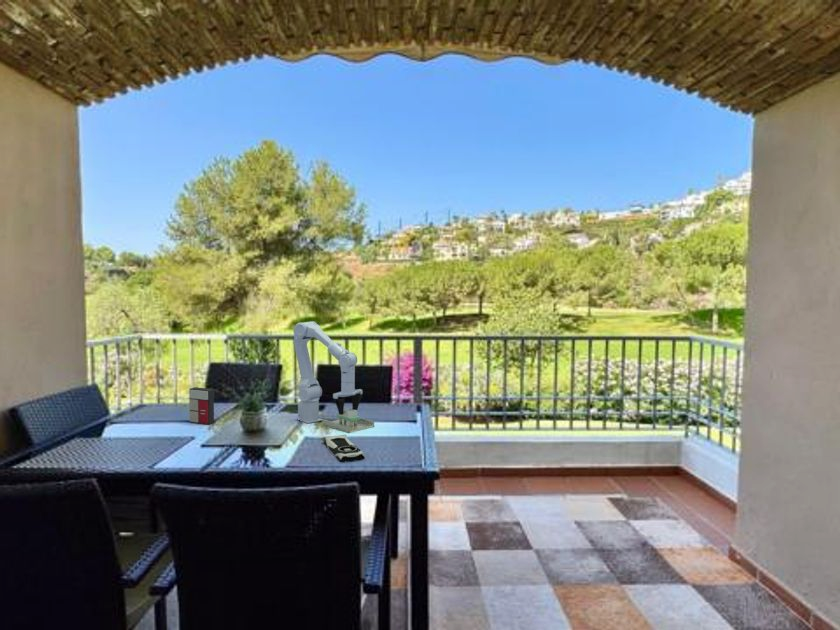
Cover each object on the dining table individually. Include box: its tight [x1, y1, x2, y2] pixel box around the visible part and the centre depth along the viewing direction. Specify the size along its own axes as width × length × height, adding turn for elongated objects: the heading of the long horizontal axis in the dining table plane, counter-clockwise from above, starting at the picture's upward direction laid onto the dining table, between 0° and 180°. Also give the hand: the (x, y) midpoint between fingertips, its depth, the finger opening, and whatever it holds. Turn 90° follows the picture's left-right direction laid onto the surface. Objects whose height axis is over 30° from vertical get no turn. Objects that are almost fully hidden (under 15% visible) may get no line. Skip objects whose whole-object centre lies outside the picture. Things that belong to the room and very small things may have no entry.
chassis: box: [321, 417, 375, 434], centre depth 246 cm, size 18×14×3 cm
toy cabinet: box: [188, 386, 216, 425], centre depth 250 cm, size 11×4×15 cm, turn 68°
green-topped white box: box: [335, 407, 361, 421], centre depth 246 cm, size 10×5×4 cm, turn 46°
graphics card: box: [320, 434, 366, 463], centre depth 210 cm, size 10×3×25 cm
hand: (348, 412), depth 246 cm, fingers open, 7 cm apart
